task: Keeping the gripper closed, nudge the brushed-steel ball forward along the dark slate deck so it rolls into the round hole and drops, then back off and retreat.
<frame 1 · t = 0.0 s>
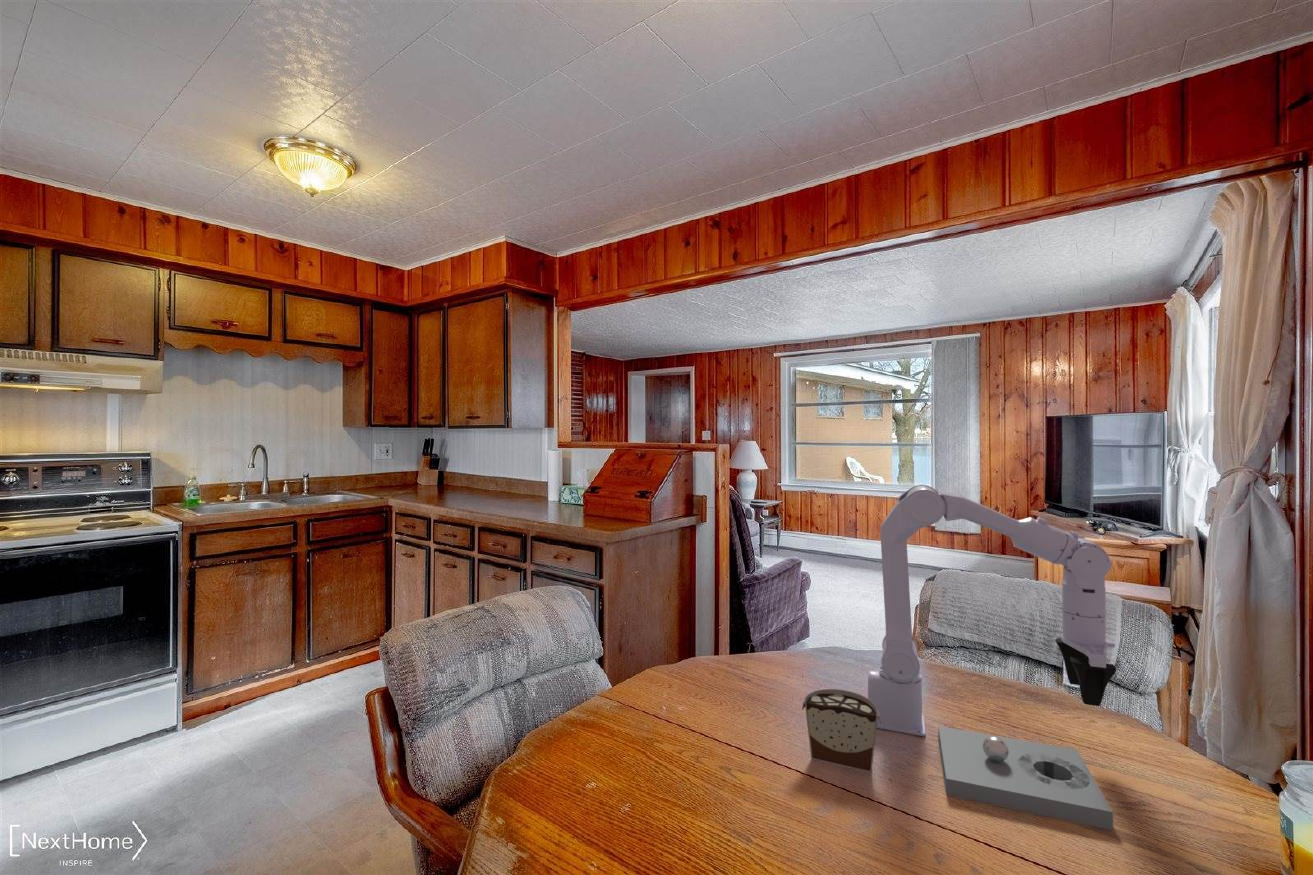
hand: (1083, 693, 93), 10 cm above the table, fingers open, 7 cm apart
deck: (1014, 779, 87), on the table
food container: (843, 757, 94), on the table
ball: (995, 748, 88), point 4 cm above the table, touching deck
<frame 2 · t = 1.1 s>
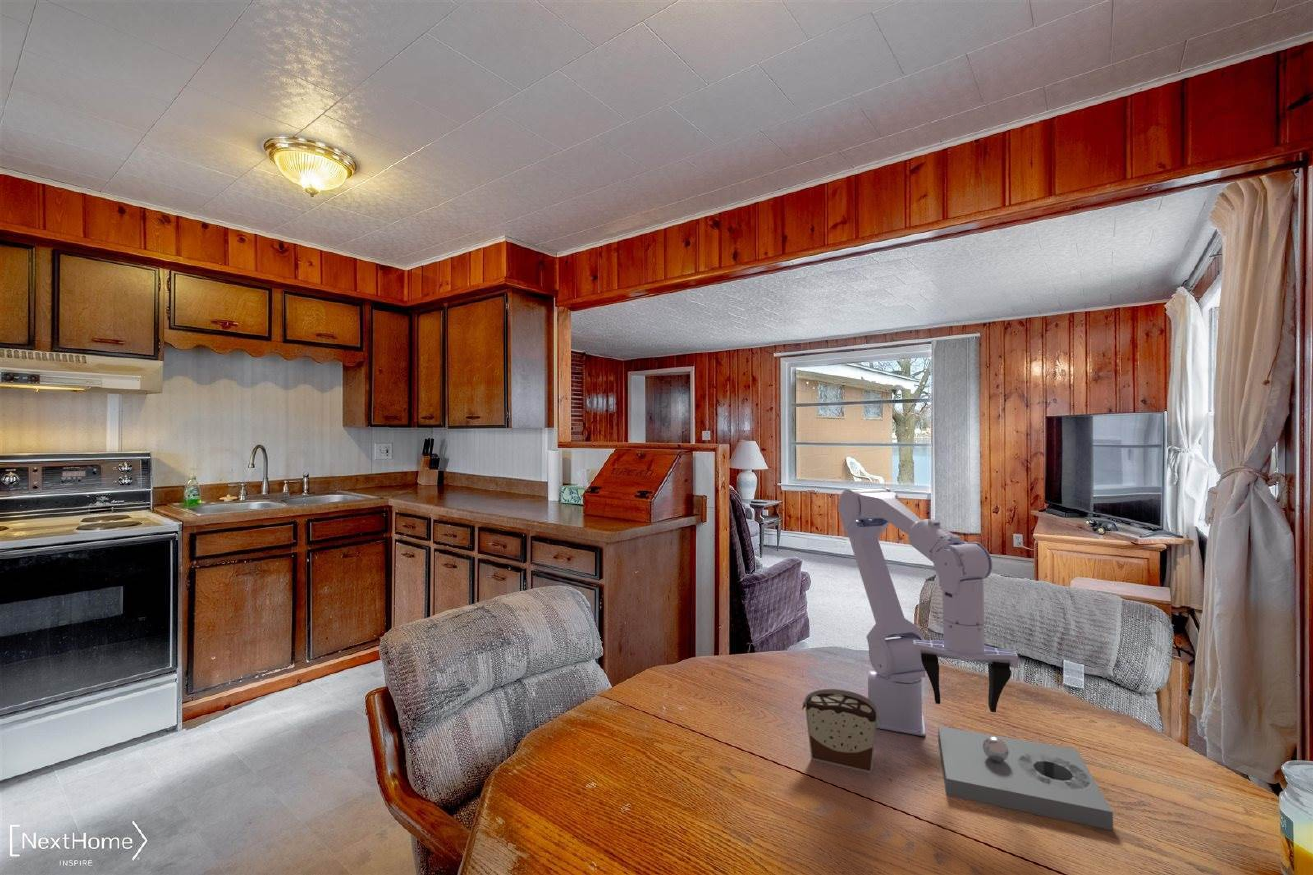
hand: (964, 705, 90), 10 cm above the table, fingers open, 7 cm apart
nothing on the table moved.
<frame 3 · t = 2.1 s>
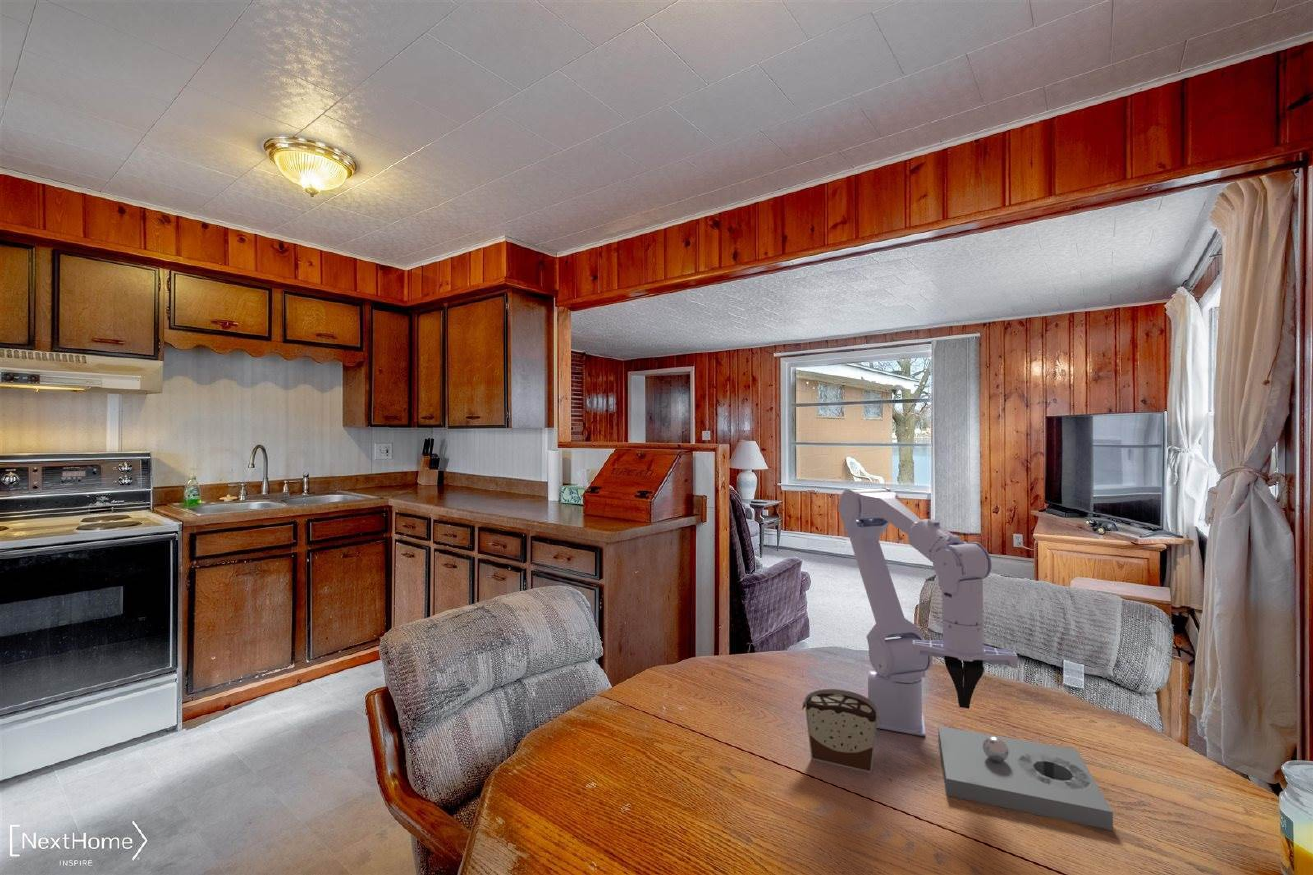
hand: (963, 705, 90), 10 cm above the table, fingers closed
nothing on the table moved.
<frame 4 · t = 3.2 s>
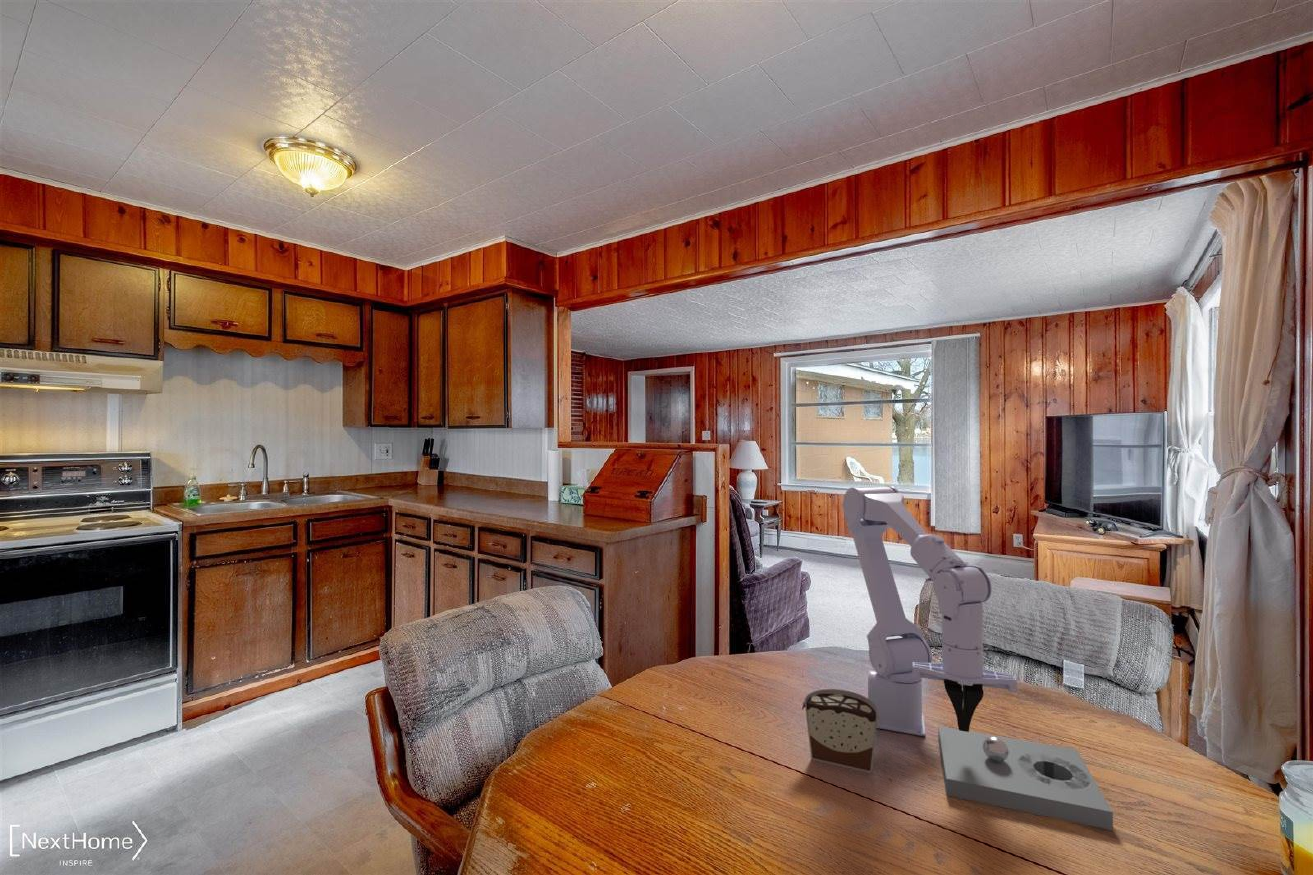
hand: (963, 728, 90), 7 cm above the table, fingers closed
nothing on the table moved.
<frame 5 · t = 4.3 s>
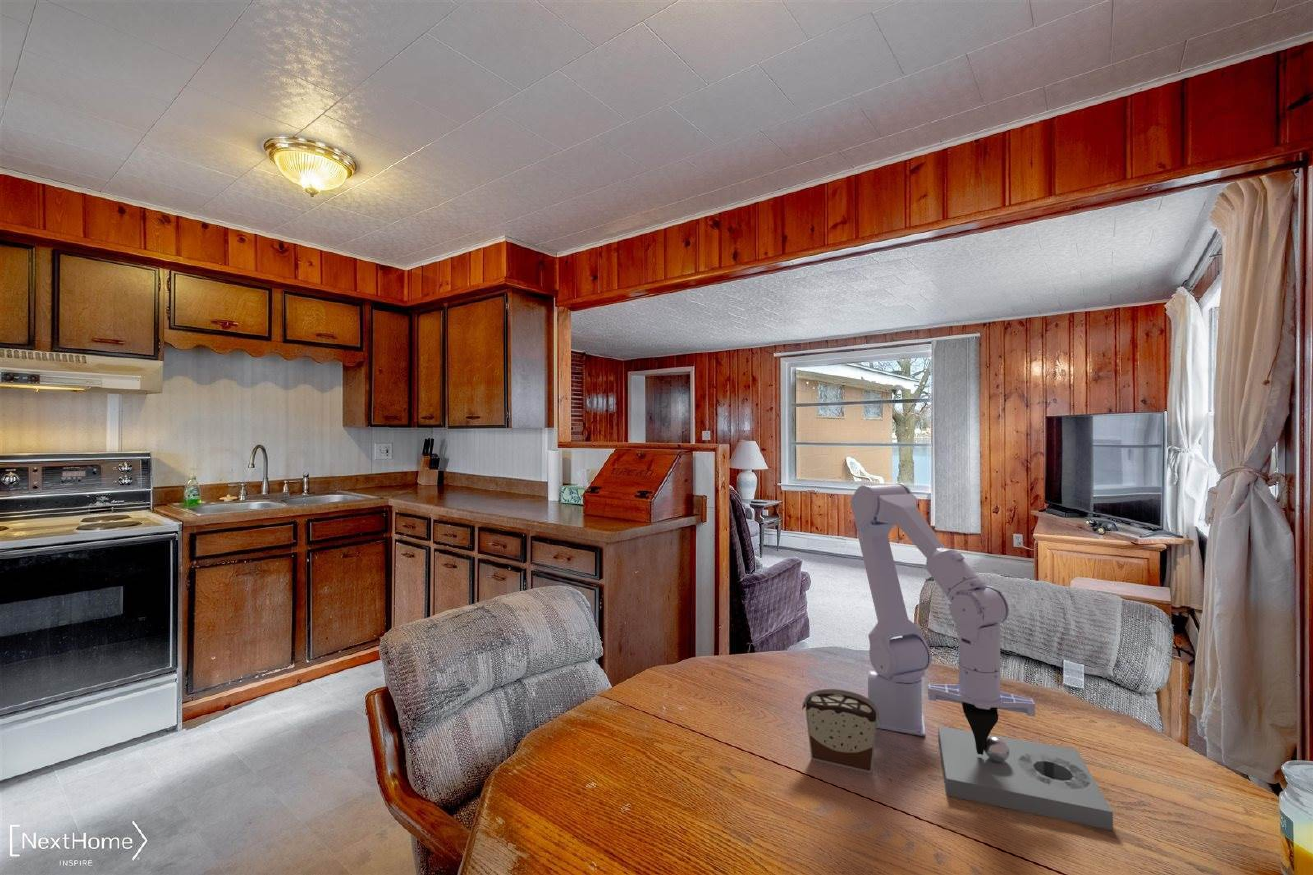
hand: (979, 751, 89), 3 cm above the table, fingers closed, pressing on ball
ball: (996, 749, 88), point 4 cm above the table, touching deck, gripper
everything else where it was.
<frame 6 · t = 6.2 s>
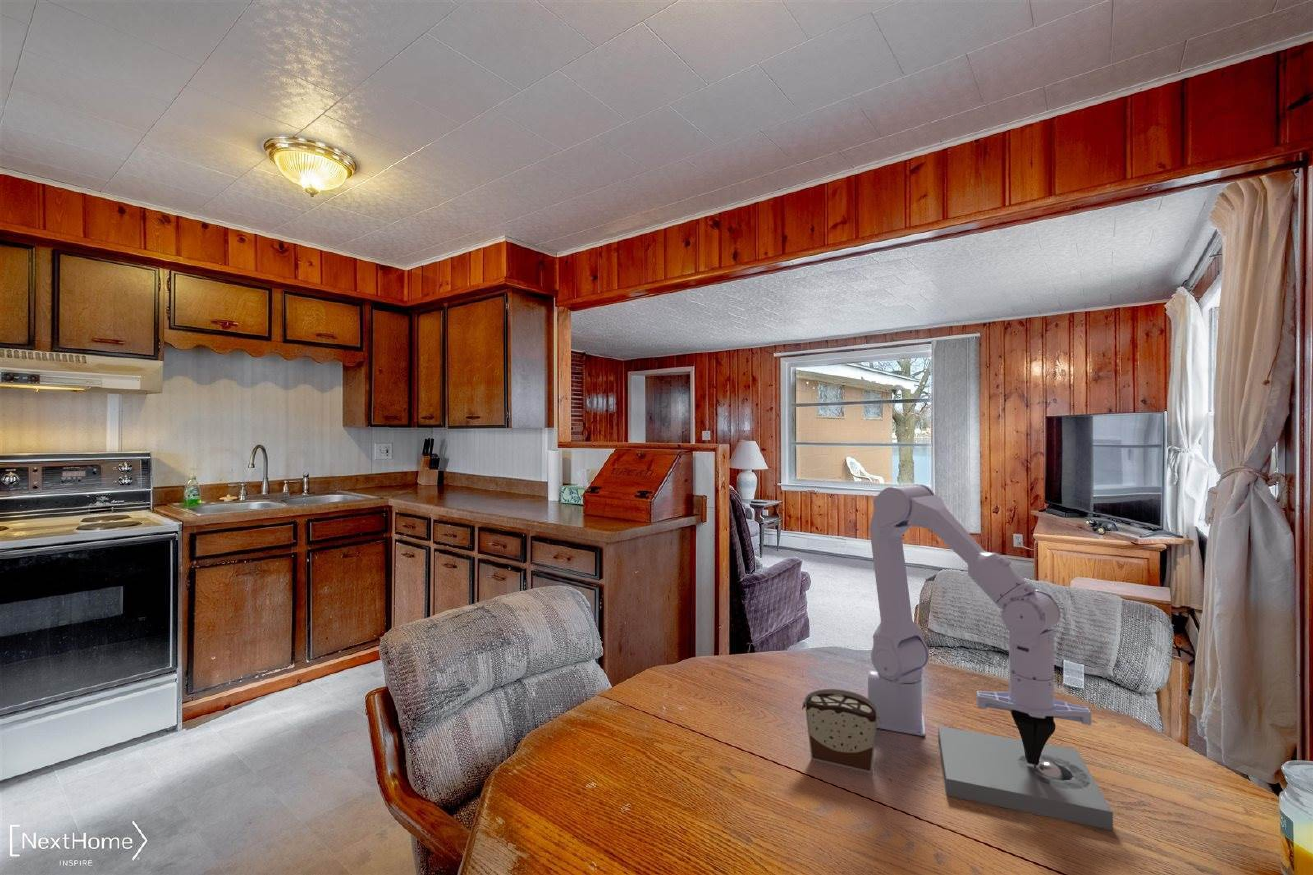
hand: (1031, 760, 86), 3 cm above the table, fingers closed
ball: (1049, 774, 85), point 2 cm above the table, tilted 173°
everything else where it was.
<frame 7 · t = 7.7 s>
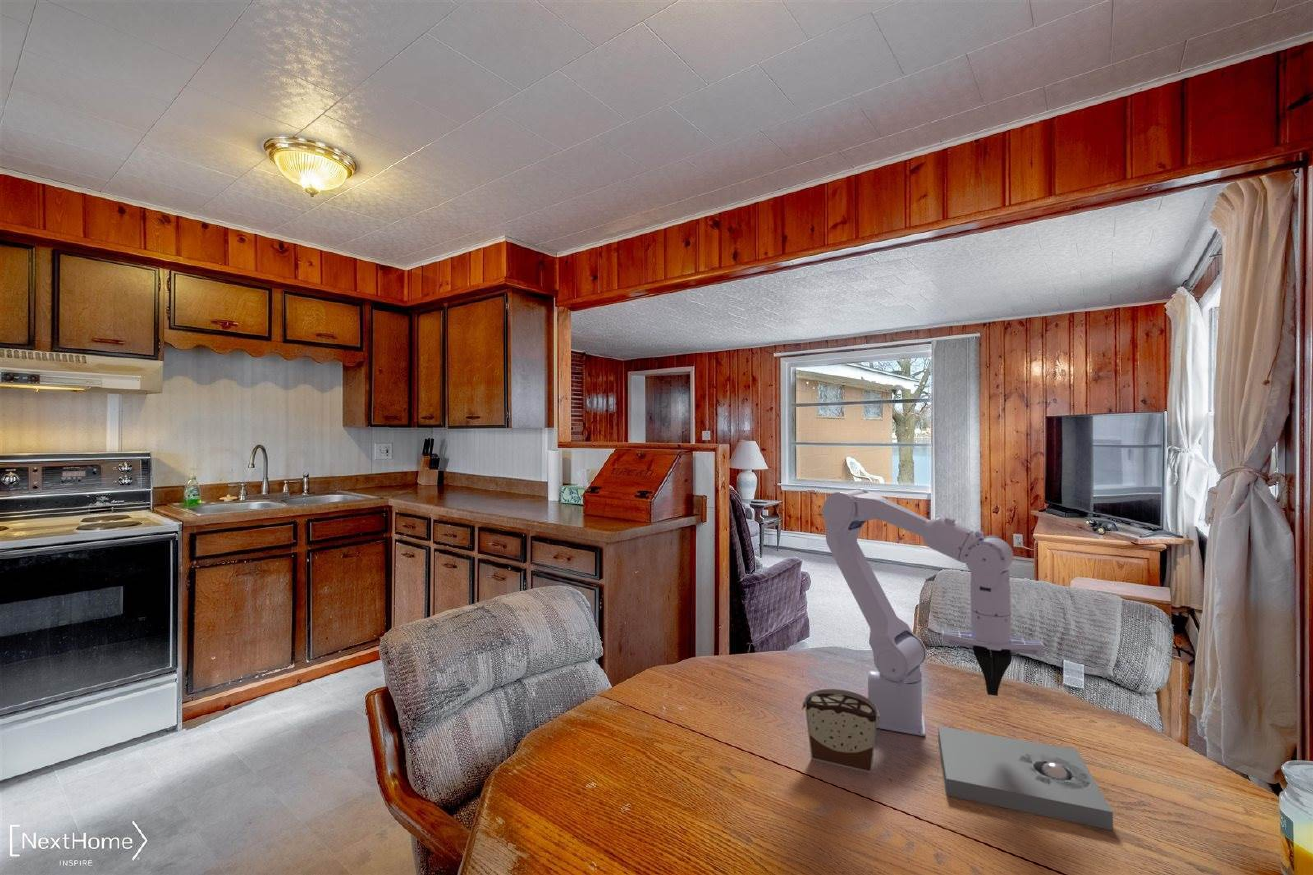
hand: (991, 692, 94), 10 cm above the table, fingers closed
ball: (1054, 775, 85), point 2 cm above the table, tilted 160°
everything else where it was.
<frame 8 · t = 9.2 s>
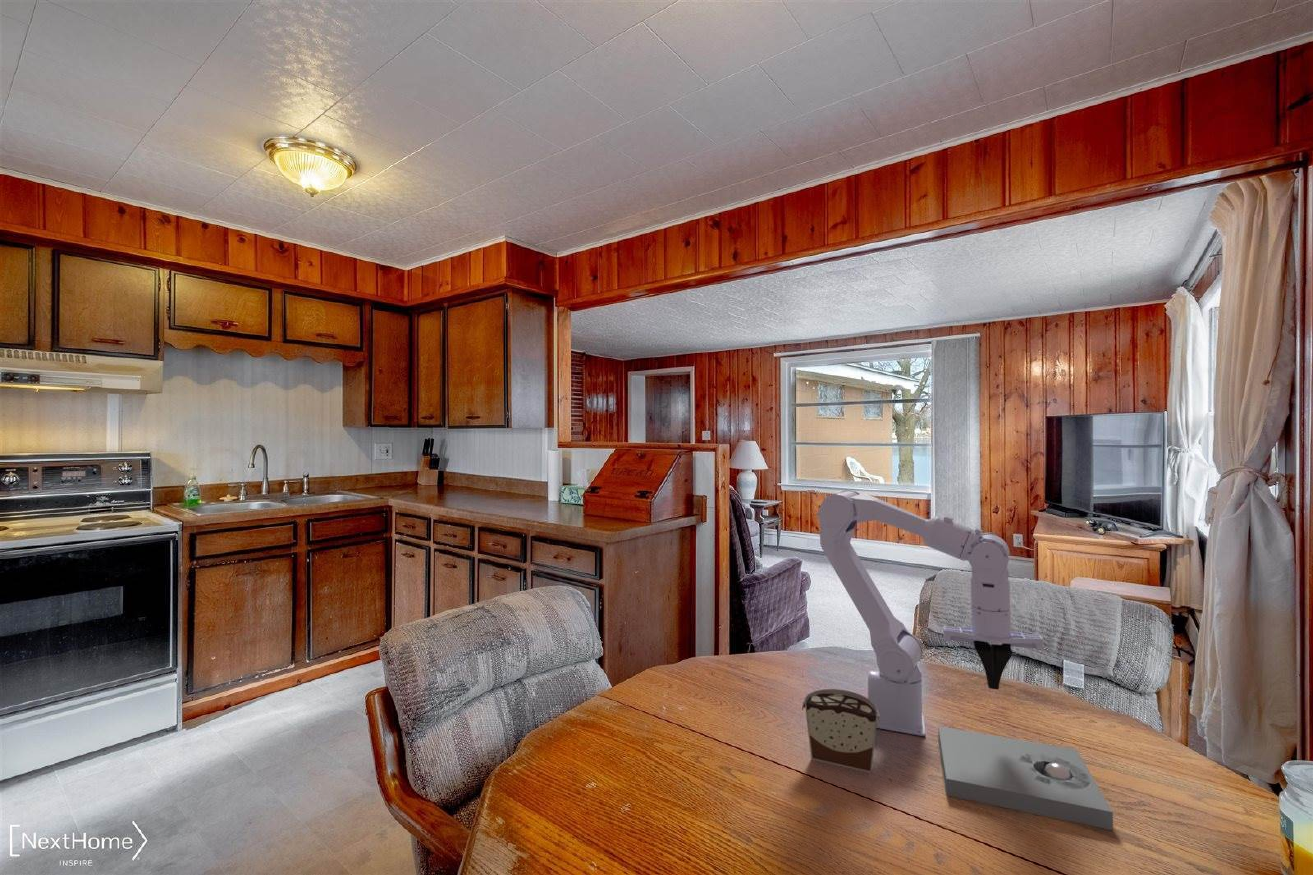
hand: (992, 686, 96), 10 cm above the table, fingers closed
ball: (1057, 776, 85), point 2 cm above the table, tilted 148°
everything else where it was.
at the end: ball 0.6 cm from the target spot in the deck, point 1.7 cm above the deck's base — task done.
